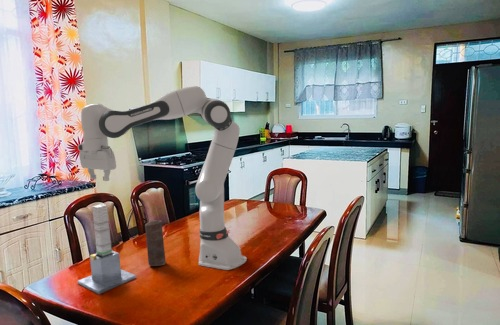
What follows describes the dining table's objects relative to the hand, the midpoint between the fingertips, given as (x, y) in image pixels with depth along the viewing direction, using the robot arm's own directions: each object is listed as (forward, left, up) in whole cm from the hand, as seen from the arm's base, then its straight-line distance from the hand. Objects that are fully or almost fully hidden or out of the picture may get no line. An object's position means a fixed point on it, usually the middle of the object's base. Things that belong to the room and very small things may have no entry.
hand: (99, 180), depth 140 cm
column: (-3, +3, -32) cm, 32 cm away
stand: (-3, +3, -41) cm, 41 cm away
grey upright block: (-8, -18, -41) cm, 46 cm away
